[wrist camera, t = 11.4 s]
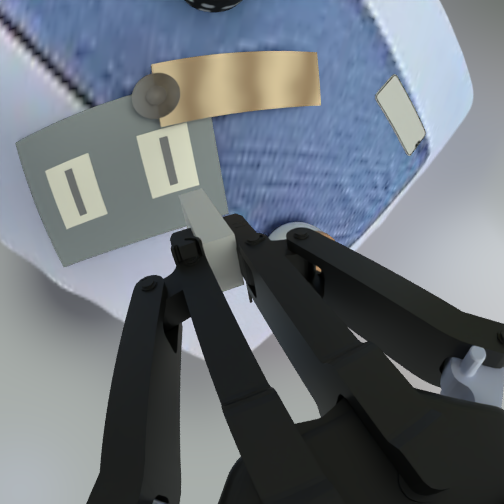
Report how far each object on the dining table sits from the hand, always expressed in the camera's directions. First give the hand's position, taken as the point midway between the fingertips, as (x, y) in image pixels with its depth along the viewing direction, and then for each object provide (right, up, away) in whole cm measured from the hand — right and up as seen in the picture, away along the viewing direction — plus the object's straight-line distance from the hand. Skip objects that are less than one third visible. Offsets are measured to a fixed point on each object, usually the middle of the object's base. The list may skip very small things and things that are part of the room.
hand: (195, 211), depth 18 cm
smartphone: (+30, +22, +24) cm, 44 cm away
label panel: (-12, +7, +13) cm, 19 cm away
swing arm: (+1, +16, +10) cm, 19 cm away
